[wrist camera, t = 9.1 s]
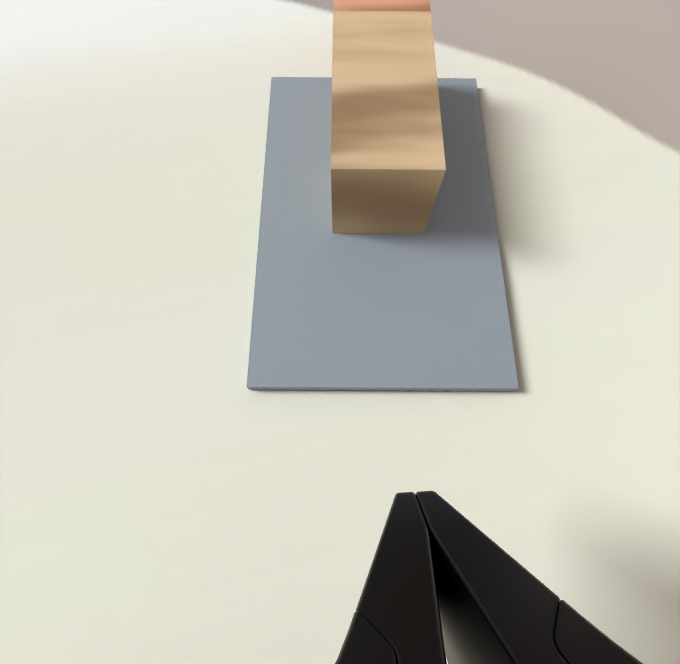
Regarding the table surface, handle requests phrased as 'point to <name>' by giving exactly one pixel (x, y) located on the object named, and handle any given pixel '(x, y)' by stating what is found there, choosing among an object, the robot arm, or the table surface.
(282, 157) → the mat
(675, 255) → the table surface
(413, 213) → the oak block
